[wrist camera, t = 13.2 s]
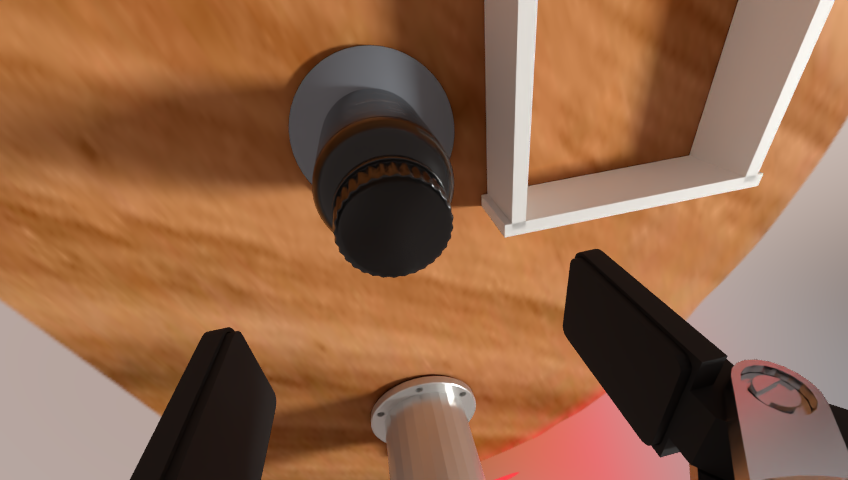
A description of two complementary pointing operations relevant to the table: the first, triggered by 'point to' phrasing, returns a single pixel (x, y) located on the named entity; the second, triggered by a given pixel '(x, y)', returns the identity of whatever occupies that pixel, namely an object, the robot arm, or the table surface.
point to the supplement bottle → (383, 184)
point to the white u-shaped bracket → (658, 181)
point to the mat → (362, 72)
